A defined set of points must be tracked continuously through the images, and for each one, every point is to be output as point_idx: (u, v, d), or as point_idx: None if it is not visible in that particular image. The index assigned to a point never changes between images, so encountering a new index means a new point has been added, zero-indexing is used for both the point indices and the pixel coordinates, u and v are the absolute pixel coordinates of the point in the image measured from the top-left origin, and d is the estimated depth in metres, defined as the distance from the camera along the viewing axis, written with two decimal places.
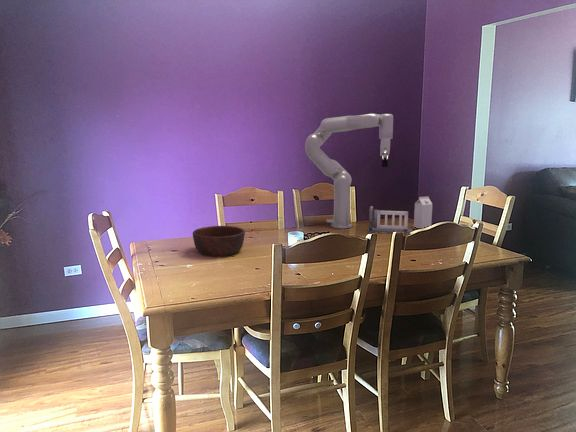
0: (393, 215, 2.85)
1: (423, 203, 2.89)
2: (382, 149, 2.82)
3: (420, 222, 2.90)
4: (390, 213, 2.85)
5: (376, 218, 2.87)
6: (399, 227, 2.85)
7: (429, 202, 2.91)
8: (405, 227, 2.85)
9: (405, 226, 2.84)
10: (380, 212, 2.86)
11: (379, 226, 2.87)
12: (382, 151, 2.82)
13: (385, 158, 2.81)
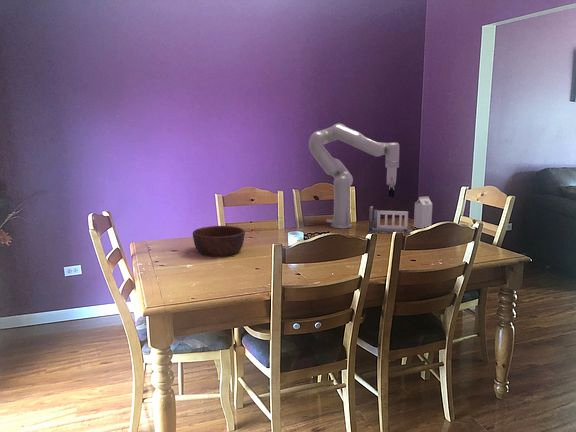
0: (393, 215, 2.85)
1: (423, 203, 2.89)
2: (389, 178, 2.82)
3: (420, 222, 2.90)
4: (390, 213, 2.85)
5: (376, 218, 2.87)
6: (399, 227, 2.85)
7: (429, 202, 2.91)
8: (405, 227, 2.85)
9: (405, 226, 2.84)
10: (380, 212, 2.86)
11: (379, 226, 2.87)
12: (389, 180, 2.82)
13: (392, 188, 2.85)
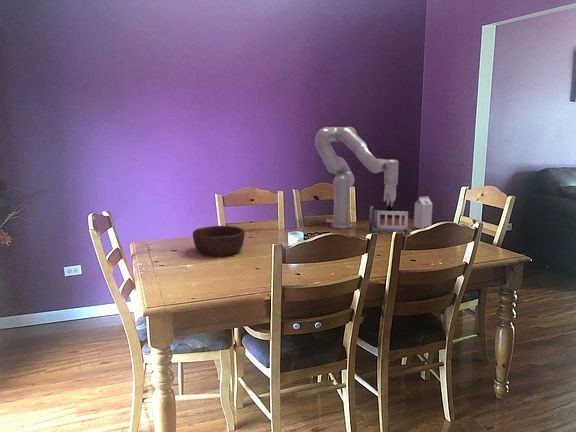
0: (393, 215, 2.84)
1: (423, 203, 2.89)
2: (385, 195, 2.82)
3: (420, 222, 2.90)
4: (390, 213, 2.84)
5: (376, 218, 2.87)
6: (399, 227, 2.85)
7: (429, 202, 2.91)
8: (405, 227, 2.84)
9: (405, 226, 2.84)
10: (380, 212, 2.86)
11: (379, 226, 2.87)
12: (385, 197, 2.82)
13: (389, 205, 2.84)
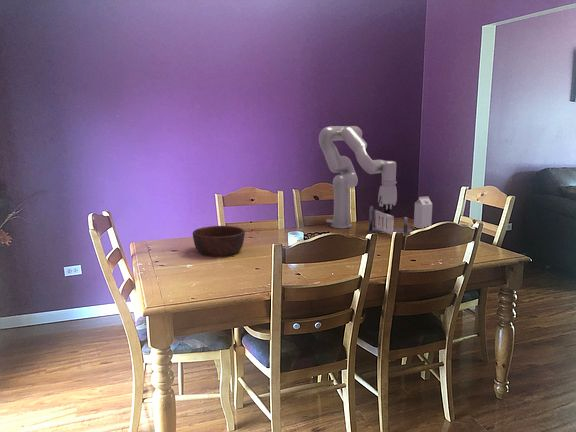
0: (384, 217, 2.78)
1: (423, 203, 2.89)
2: (378, 196, 2.77)
3: (420, 222, 2.90)
4: (382, 215, 2.79)
5: (374, 218, 2.87)
6: (386, 231, 2.76)
7: (429, 202, 2.91)
8: (390, 232, 2.73)
9: (390, 231, 2.73)
10: (377, 213, 2.84)
11: (376, 227, 2.86)
12: (378, 198, 2.78)
13: (384, 207, 2.78)
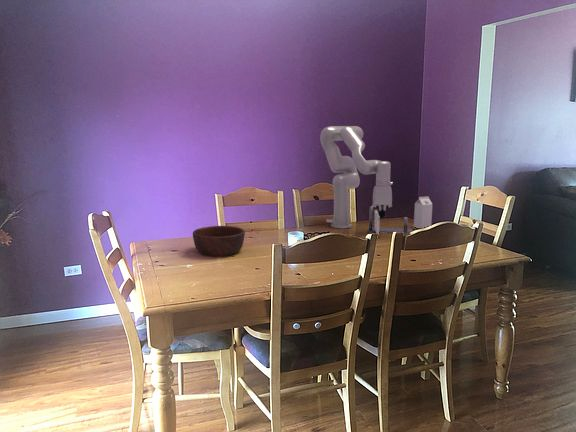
0: (376, 217, 2.77)
1: (423, 203, 2.89)
2: None
3: (420, 222, 2.90)
4: None
5: (374, 218, 2.87)
6: (376, 231, 2.75)
7: (429, 202, 2.91)
8: (376, 232, 2.72)
9: (376, 231, 2.72)
10: None
11: (374, 226, 2.86)
12: None
13: None
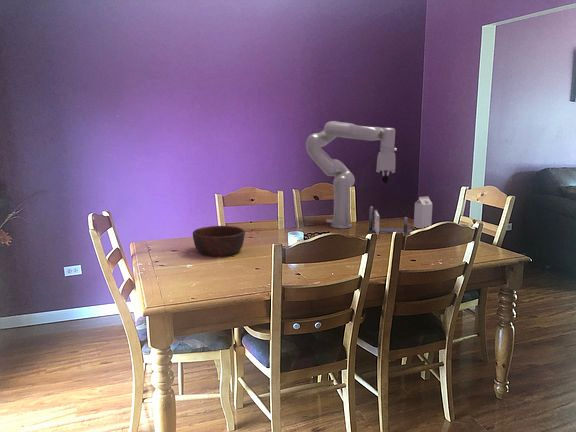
0: None
1: (423, 203, 2.89)
2: None
3: (420, 222, 2.90)
4: (375, 215, 2.79)
5: (374, 218, 2.87)
6: (376, 231, 2.75)
7: (429, 202, 2.91)
8: (376, 232, 2.72)
9: (376, 231, 2.72)
10: None
11: (374, 226, 2.86)
12: None
13: (381, 173, 2.84)
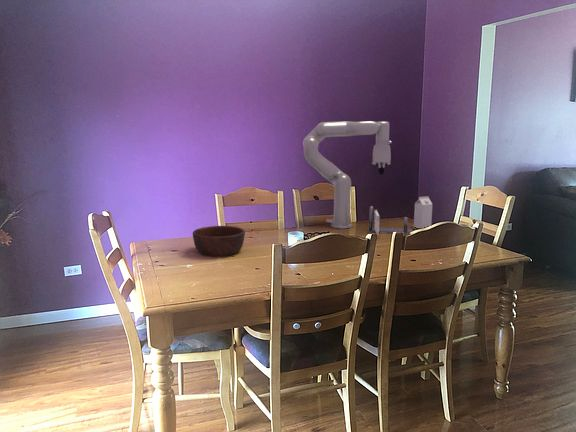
0: None
1: (423, 203, 2.89)
2: None
3: (420, 222, 2.90)
4: (375, 215, 2.79)
5: (374, 218, 2.87)
6: (376, 231, 2.75)
7: (429, 202, 2.91)
8: (376, 232, 2.72)
9: (376, 231, 2.72)
10: None
11: (374, 226, 2.86)
12: None
13: None
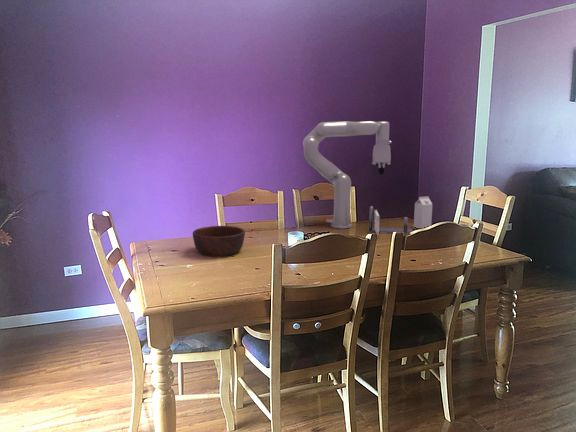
0: None
1: (423, 203, 2.89)
2: None
3: (420, 222, 2.90)
4: (375, 215, 2.79)
5: (374, 218, 2.87)
6: (376, 231, 2.75)
7: (429, 202, 2.91)
8: (376, 232, 2.72)
9: (376, 231, 2.72)
10: None
11: (374, 226, 2.86)
12: None
13: None
